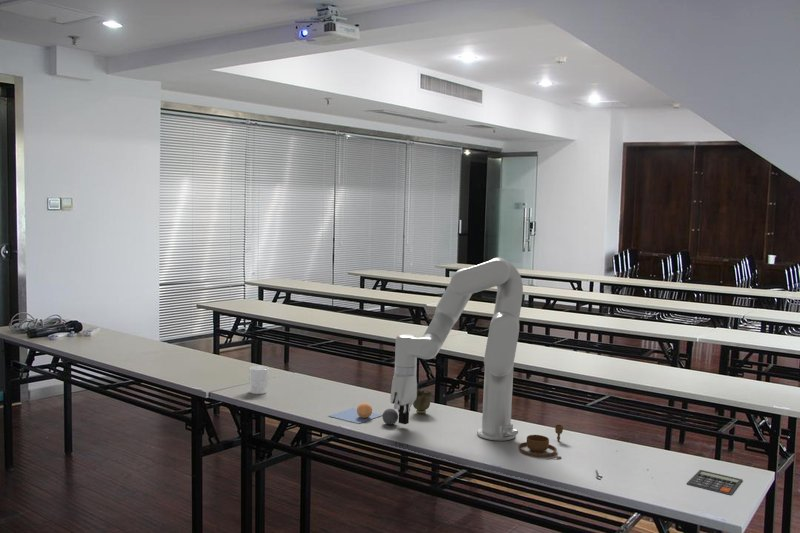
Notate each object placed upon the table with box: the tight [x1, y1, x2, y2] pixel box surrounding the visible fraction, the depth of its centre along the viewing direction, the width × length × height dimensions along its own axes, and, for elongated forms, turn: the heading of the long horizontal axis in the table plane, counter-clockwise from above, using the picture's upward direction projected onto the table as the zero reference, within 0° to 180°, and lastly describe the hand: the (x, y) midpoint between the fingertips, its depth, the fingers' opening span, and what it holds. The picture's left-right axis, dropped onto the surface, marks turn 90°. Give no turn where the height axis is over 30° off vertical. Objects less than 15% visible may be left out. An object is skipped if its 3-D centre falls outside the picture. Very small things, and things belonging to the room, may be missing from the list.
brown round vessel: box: [412, 389, 433, 415], centre depth 257 cm, size 8×7×8 cm
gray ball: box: [381, 408, 399, 426], centre depth 242 cm, size 6×6×6 cm
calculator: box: [686, 469, 743, 496], centre depth 197 cm, size 12×1×15 cm
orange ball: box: [356, 402, 373, 418], centre depth 248 cm, size 6×6×6 cm
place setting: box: [517, 424, 564, 461], centre depth 220 cm, size 18×20×6 cm
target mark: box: [328, 407, 383, 425], centre depth 251 cm, size 14×14×1 cm
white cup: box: [248, 365, 270, 395], centre depth 280 cm, size 8×8×10 cm
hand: (403, 423), depth 239 cm, fingers closed
